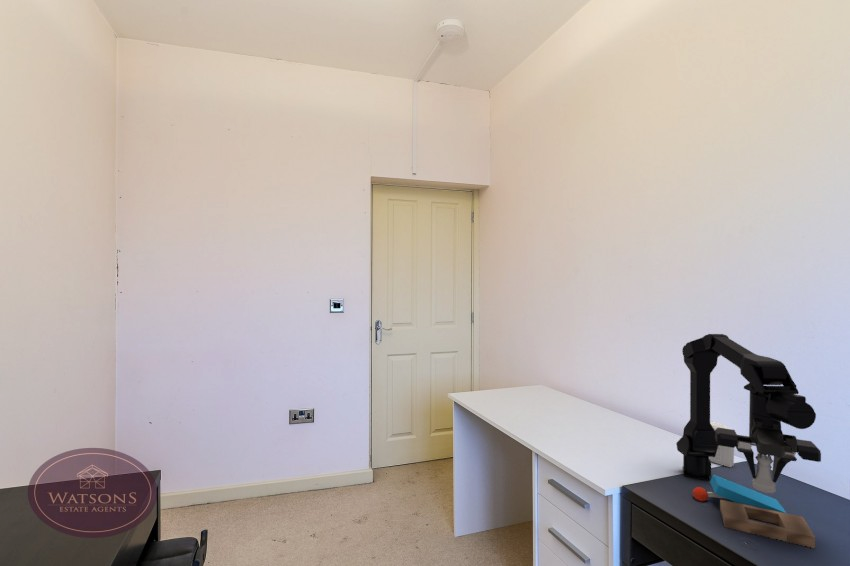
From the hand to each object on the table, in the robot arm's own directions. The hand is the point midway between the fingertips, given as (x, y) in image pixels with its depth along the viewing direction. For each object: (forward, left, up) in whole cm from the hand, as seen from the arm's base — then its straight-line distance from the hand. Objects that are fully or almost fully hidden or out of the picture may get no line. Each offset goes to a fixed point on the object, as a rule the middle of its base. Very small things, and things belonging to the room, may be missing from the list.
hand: (763, 479), depth 99 cm
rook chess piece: (0, 0, -2) cm, 2 cm away
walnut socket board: (0, 0, -11) cm, 11 cm away
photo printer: (-6, +38, -11) cm, 40 cm away
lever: (-4, +8, -12) cm, 15 cm away
